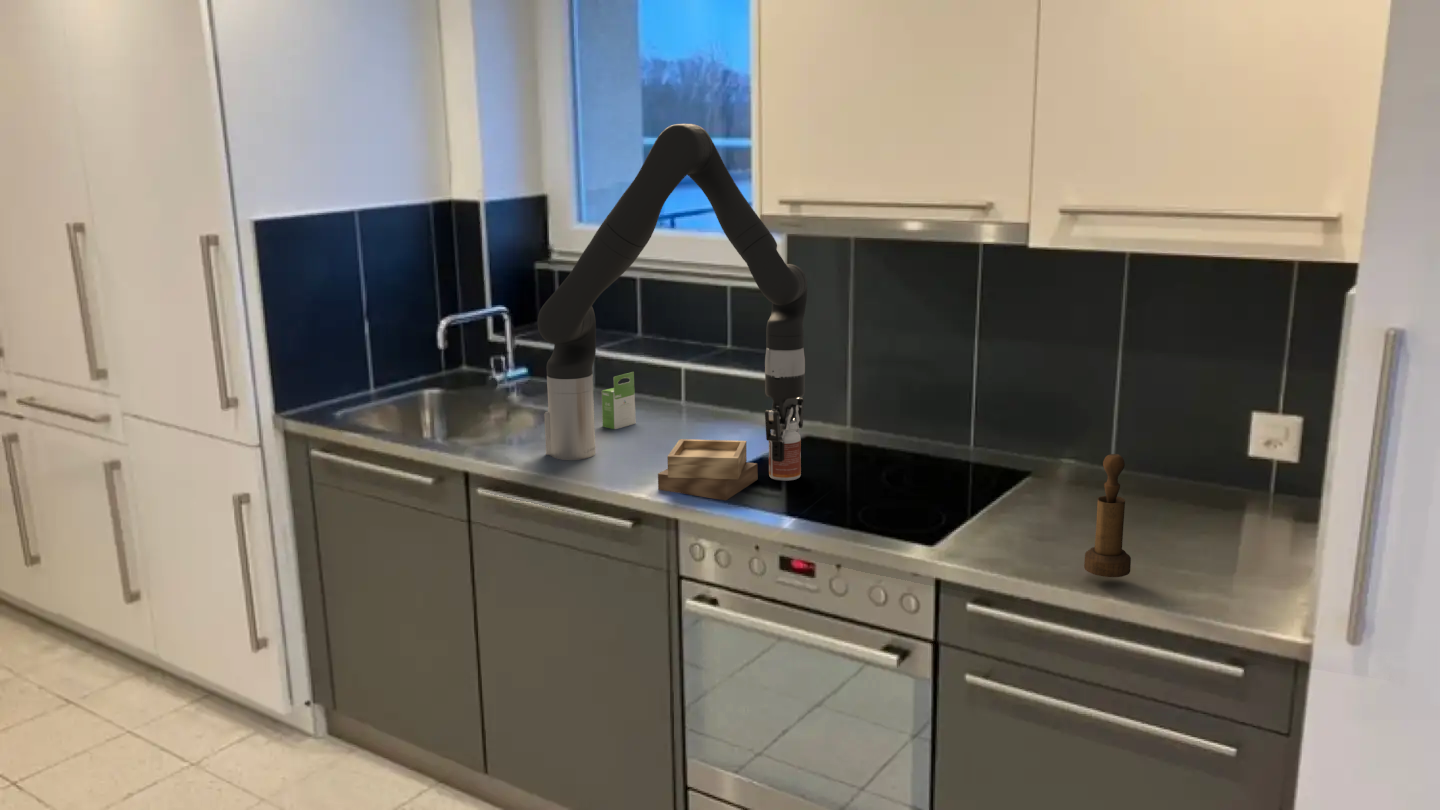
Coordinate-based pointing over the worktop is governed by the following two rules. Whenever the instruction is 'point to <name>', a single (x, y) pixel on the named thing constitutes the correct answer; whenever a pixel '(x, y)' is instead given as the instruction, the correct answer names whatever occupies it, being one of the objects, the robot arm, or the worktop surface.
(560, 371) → the robot arm
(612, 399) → the ink box
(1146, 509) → the worktop surface
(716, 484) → the tower base
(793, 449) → the pill bottle
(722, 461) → the tower top
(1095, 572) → the mortar and pestle
